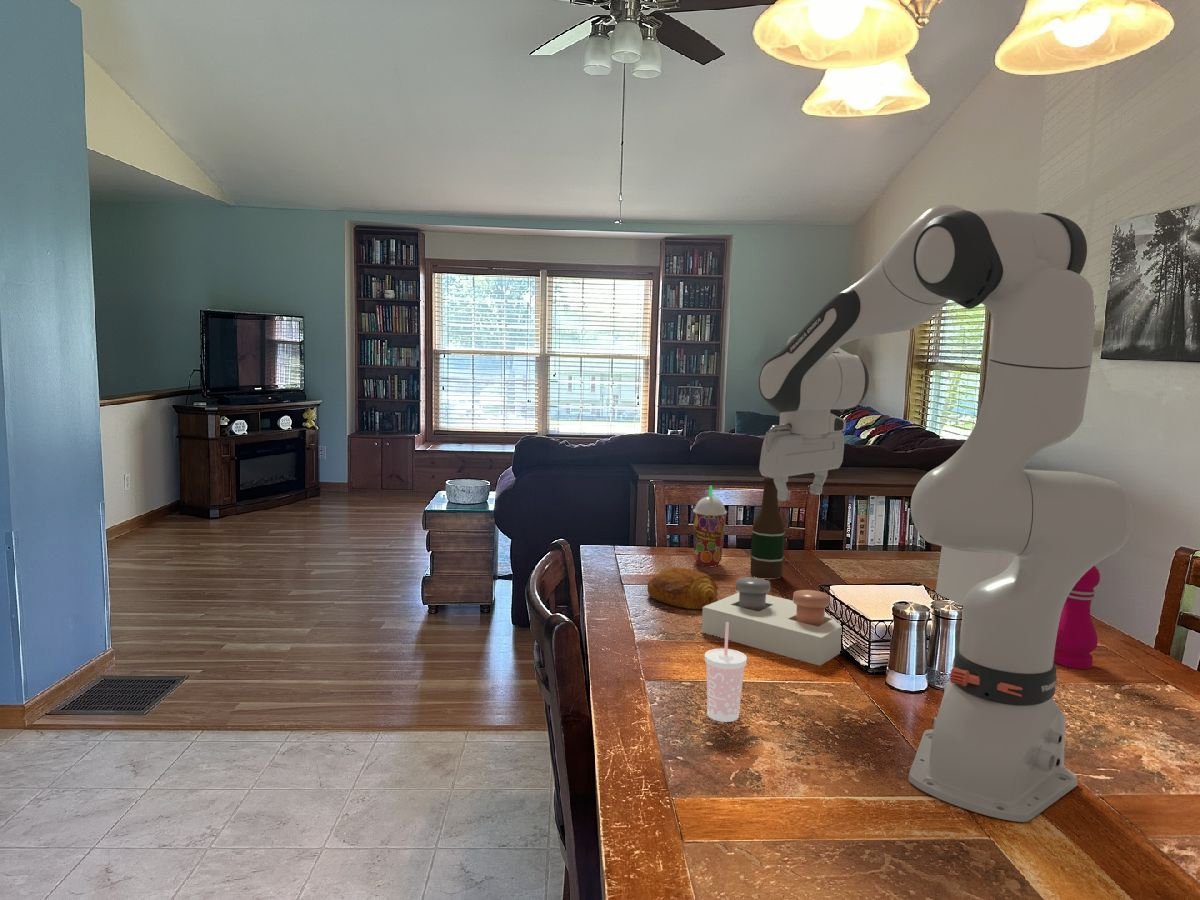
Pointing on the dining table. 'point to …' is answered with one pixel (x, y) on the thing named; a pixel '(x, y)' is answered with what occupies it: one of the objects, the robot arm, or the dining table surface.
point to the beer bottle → (768, 536)
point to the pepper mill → (1077, 625)
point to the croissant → (683, 588)
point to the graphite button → (752, 592)
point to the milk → (967, 571)
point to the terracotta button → (811, 606)
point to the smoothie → (709, 530)
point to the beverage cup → (724, 681)
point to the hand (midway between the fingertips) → (800, 497)
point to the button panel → (774, 629)
